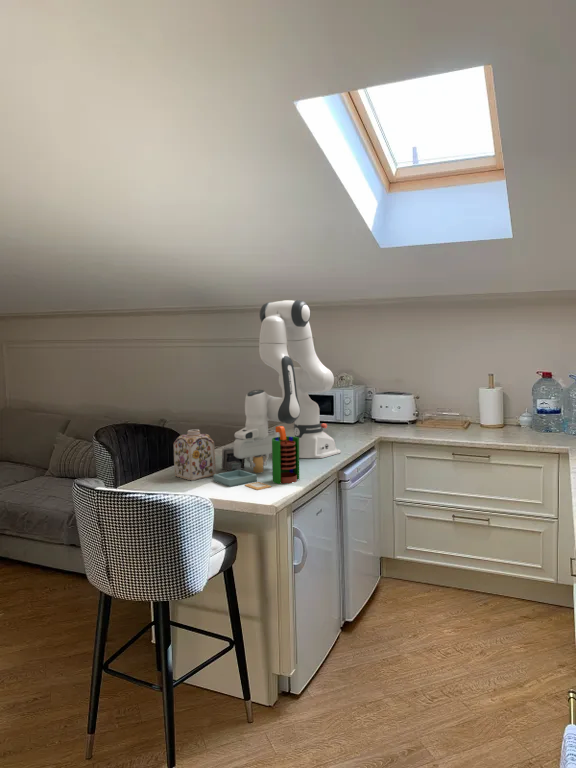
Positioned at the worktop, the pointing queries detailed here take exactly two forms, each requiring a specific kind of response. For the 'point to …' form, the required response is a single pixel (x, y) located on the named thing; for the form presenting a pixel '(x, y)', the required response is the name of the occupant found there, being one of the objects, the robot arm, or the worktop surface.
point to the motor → (285, 457)
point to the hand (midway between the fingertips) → (258, 466)
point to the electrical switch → (230, 457)
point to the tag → (258, 485)
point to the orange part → (258, 464)
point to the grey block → (233, 466)
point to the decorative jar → (194, 456)
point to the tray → (235, 478)
